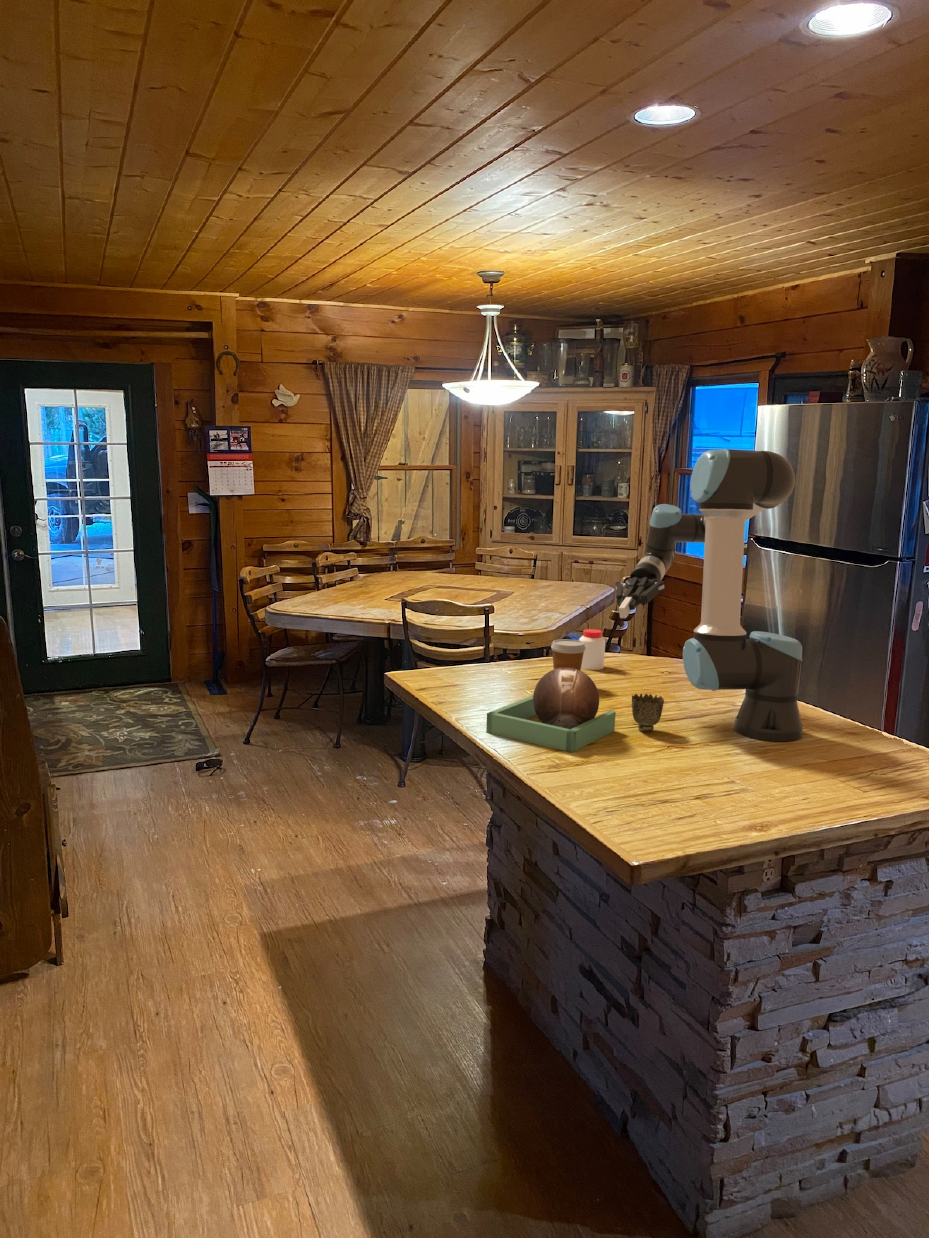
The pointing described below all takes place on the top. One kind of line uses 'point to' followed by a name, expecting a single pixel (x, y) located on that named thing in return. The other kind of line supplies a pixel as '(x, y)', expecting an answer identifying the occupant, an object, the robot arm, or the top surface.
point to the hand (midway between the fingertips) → (622, 613)
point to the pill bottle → (593, 649)
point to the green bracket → (546, 727)
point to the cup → (647, 711)
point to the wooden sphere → (565, 698)
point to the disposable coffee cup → (567, 653)
